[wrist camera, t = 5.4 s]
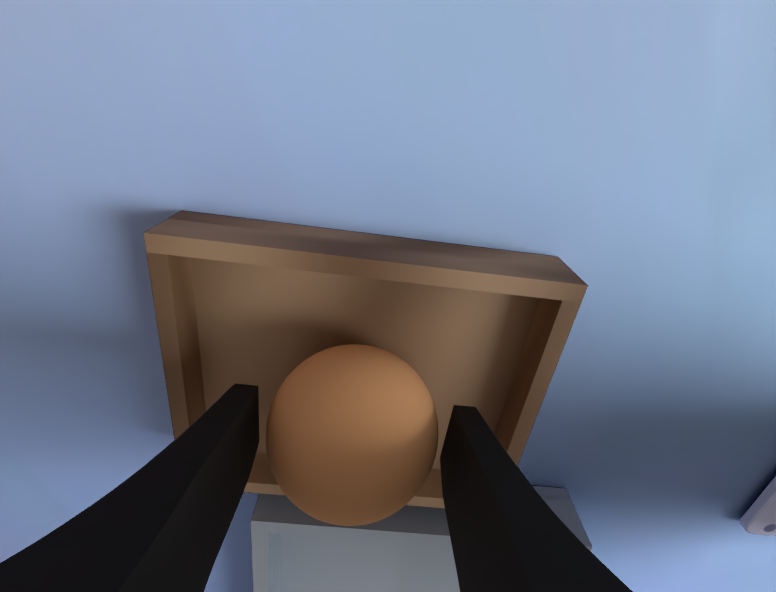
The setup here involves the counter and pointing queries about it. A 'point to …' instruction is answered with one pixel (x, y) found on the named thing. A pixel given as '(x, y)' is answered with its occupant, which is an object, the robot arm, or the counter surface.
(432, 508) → the dish
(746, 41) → the counter surface
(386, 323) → the tray
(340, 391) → the ball
